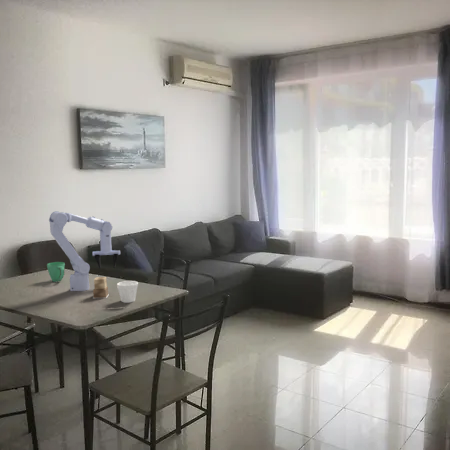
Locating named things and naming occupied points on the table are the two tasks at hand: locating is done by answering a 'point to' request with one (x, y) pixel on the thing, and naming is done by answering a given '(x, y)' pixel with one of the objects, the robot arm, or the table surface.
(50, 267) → the mug
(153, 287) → the table surface
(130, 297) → the cup
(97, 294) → the walnut block
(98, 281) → the oak cube
